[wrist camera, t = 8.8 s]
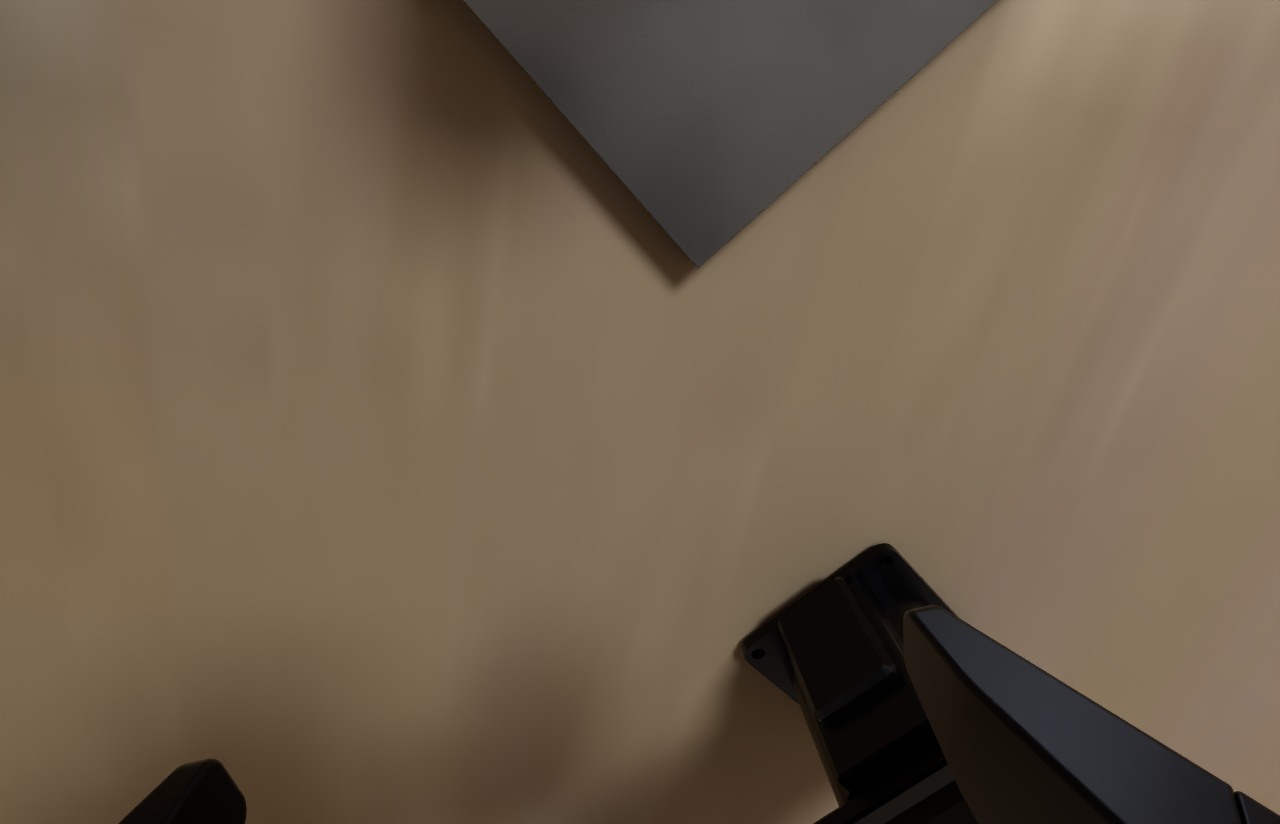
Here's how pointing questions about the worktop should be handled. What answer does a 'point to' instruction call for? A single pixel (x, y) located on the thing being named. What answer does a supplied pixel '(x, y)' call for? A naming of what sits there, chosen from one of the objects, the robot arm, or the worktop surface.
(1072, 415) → the worktop surface
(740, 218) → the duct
